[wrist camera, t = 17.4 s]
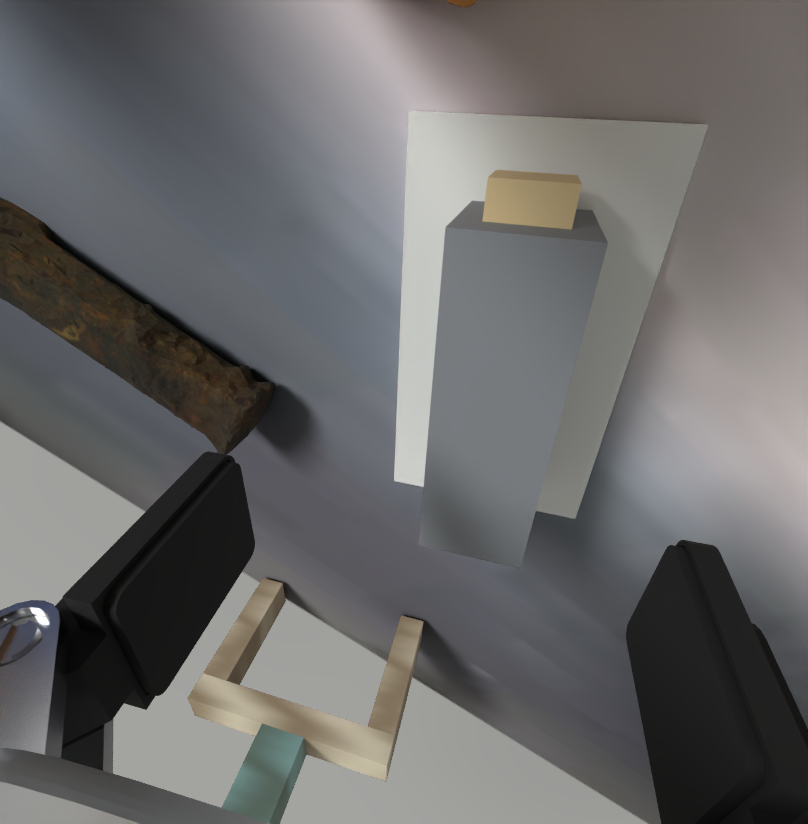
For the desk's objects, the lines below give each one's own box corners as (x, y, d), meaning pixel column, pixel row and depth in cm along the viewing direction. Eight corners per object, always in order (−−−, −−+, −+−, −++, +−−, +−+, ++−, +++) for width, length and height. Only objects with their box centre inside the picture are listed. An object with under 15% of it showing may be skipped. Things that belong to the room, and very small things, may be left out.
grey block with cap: (442, 467, 22) (418, 544, 18) (476, 164, 15) (449, 179, 11) (525, 484, 22) (520, 568, 18) (601, 173, 15) (621, 192, 11)
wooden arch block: (266, 595, 33) (145, 798, 23) (263, 578, 32) (133, 783, 22) (421, 638, 31) (360, 884, 21) (423, 621, 30) (360, 871, 20)
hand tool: (292, 379, 23) (241, 429, 19) (260, 426, 25) (209, 480, 22) (-52, 117, 21) (-188, 115, 17) (-54, 195, 23) (-175, 209, 19)
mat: (396, 474, 24) (394, 480, 24) (412, 110, 16) (408, 110, 15) (574, 511, 22) (575, 518, 22) (704, 124, 14) (708, 124, 13)
